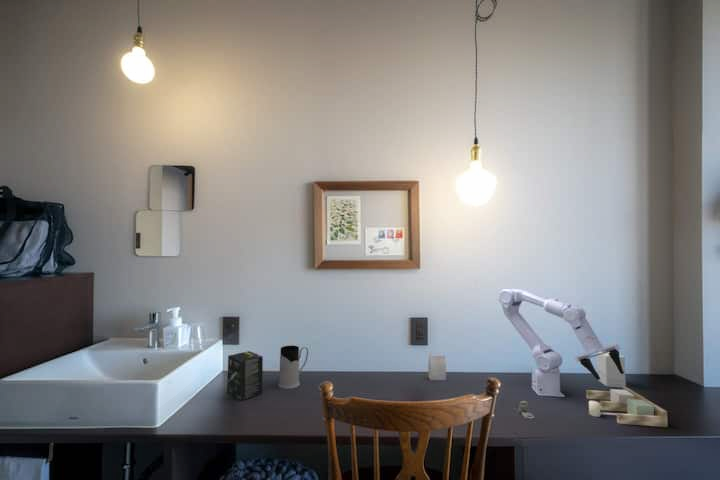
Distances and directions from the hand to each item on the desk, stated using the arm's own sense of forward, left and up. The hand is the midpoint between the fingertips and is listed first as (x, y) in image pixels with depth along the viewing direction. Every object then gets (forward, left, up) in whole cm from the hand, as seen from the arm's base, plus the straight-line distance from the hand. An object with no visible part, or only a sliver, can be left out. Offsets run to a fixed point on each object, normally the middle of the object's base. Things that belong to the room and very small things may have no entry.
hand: (610, 376), depth 116 cm
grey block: (+7, +7, -13) cm, 16 cm away
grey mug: (-117, +8, -13) cm, 118 cm away
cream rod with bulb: (+1, -3, -12) cm, 12 cm away
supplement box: (+16, +29, -13) cm, 35 cm away
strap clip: (-30, -5, -13) cm, 33 cm away
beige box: (-57, +23, -13) cm, 63 cm away
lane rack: (+5, +2, -12) cm, 13 cm away
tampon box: (-132, -6, -13) cm, 133 cm away
